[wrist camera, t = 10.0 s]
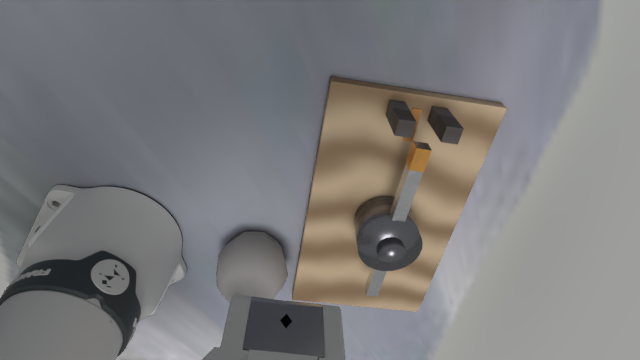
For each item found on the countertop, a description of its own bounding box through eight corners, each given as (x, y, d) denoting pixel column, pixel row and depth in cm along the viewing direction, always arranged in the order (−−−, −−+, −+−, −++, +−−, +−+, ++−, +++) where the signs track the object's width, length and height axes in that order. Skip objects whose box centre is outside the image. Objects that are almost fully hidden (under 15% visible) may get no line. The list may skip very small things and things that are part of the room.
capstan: (393, 271, 50) (403, 312, 45) (340, 265, 49) (344, 305, 44) (445, 133, 40) (466, 164, 34) (380, 123, 39) (391, 153, 34)
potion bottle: (298, 265, 52) (292, 401, 37) (237, 280, 53) (206, 417, 38) (275, 216, 47) (257, 347, 32) (209, 233, 49) (162, 367, 33)
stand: (415, 303, 56) (426, 342, 51) (292, 291, 54) (290, 330, 49) (500, 102, 40) (530, 128, 35) (330, 76, 38) (333, 99, 33)
